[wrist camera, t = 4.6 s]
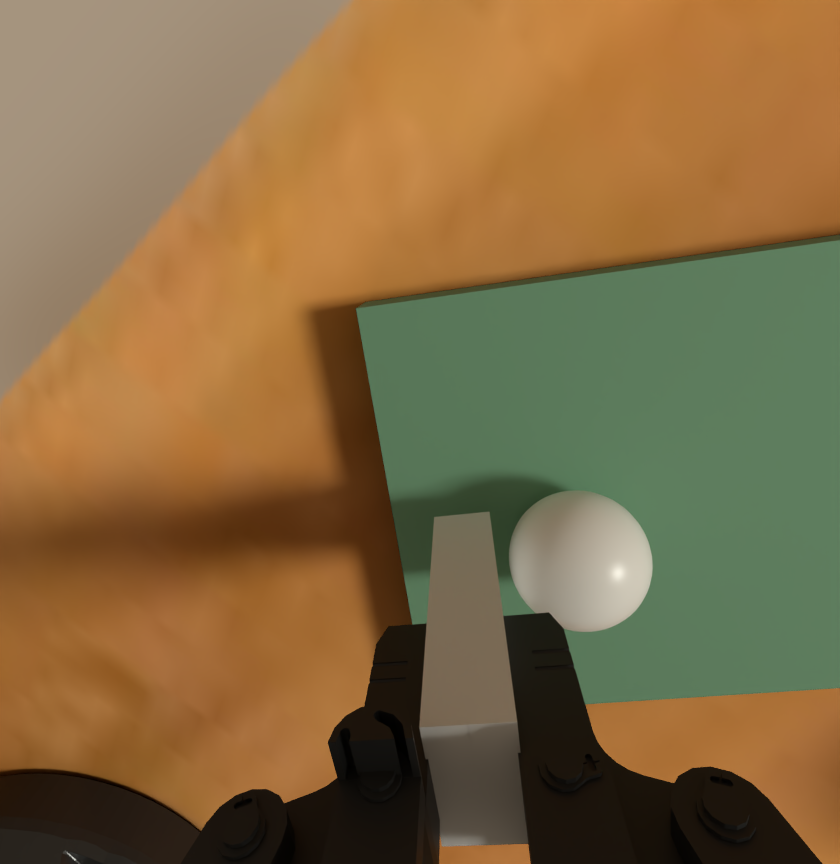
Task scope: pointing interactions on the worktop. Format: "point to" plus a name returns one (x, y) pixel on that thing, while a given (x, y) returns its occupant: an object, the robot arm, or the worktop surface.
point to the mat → (639, 450)
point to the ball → (580, 560)
